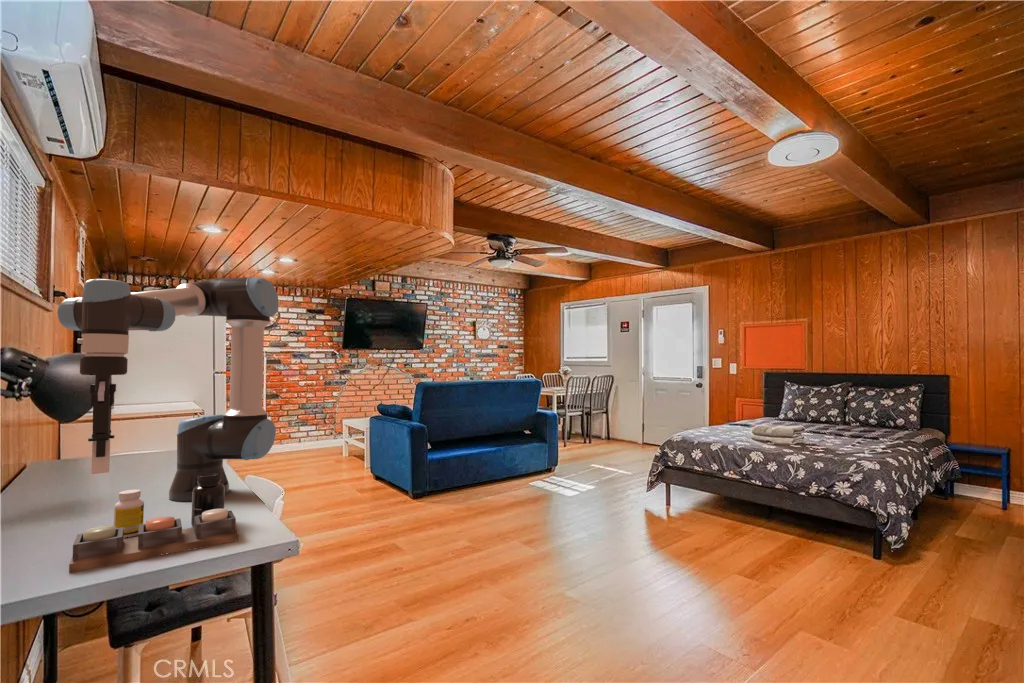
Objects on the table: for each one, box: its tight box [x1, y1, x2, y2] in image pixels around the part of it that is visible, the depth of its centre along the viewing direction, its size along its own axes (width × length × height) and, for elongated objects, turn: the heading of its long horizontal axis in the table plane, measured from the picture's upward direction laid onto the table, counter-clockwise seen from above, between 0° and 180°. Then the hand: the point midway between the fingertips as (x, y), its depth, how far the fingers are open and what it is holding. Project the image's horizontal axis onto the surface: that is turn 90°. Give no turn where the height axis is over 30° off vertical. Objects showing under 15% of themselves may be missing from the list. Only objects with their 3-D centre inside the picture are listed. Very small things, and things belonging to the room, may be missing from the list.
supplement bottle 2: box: [190, 472, 226, 528], centre depth 122 cm, size 7×7×12 cm
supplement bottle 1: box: [113, 489, 145, 539], centre depth 115 cm, size 5×5×10 cm
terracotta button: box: [145, 516, 176, 532], centre depth 107 cm, size 5×5×2 cm
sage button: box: [82, 525, 116, 542], centre depth 101 cm, size 5×5×2 cm
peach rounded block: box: [202, 508, 229, 523], centre depth 112 cm, size 5×5×2 cm
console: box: [68, 510, 239, 573], centre depth 107 cm, size 28×11×4 cm, turn 126°
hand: (100, 472), depth 101 cm, fingers closed
